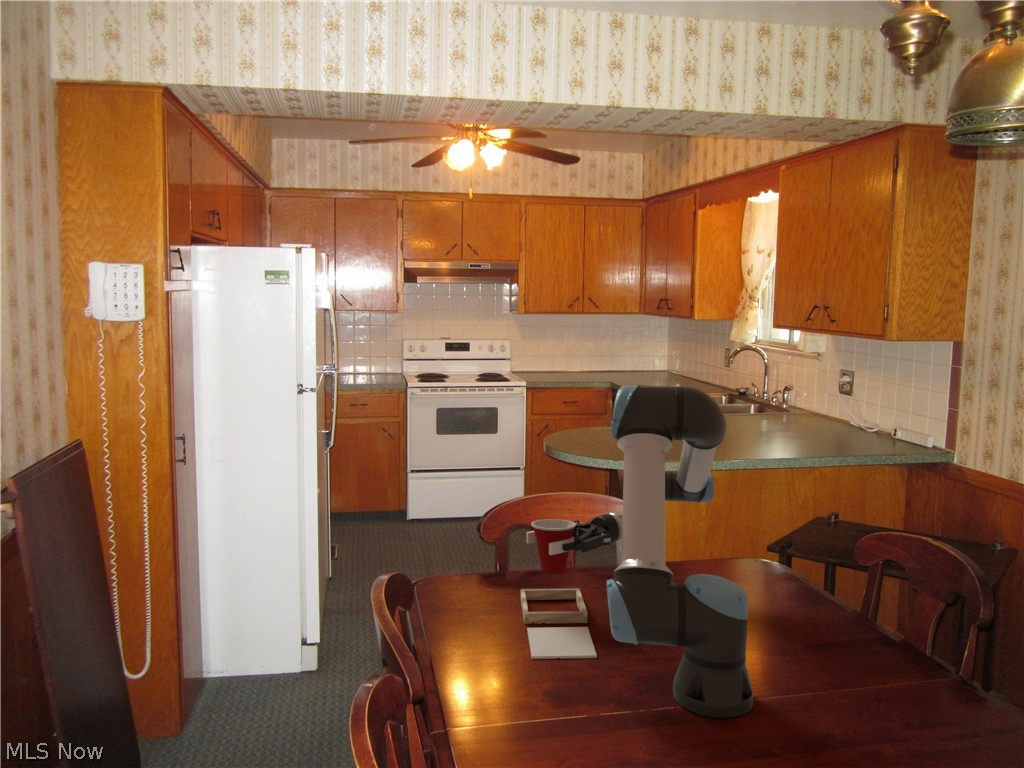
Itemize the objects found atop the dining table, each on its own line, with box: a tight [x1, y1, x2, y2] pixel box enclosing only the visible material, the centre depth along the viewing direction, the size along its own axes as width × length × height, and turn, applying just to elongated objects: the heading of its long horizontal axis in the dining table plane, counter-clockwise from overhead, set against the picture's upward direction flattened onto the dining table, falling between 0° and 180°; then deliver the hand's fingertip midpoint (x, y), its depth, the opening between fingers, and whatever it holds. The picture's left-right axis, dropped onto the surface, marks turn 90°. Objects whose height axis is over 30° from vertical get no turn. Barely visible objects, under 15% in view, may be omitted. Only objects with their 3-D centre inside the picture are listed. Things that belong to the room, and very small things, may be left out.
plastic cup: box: [530, 518, 576, 575], centre depth 190 cm, size 11×11×12 cm
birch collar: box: [520, 587, 589, 625], centre depth 192 cm, size 15×15×2 cm
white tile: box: [526, 626, 598, 660], centre depth 174 cm, size 14×14×1 cm
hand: (538, 543), depth 187 cm, fingers closed on plastic cup, 9 cm apart
